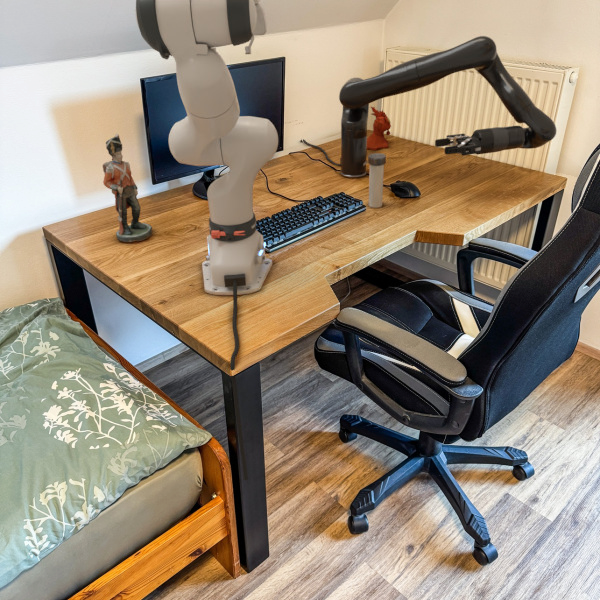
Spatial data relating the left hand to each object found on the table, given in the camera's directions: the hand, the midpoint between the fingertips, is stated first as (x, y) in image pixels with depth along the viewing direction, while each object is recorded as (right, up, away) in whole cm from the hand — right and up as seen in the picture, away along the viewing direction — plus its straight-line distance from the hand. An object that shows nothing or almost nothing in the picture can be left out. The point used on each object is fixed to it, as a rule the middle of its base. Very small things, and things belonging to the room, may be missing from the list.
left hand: (231, 54), depth 151 cm
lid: (+42, -22, +23) cm, 53 cm away
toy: (+49, -1, +85) cm, 98 cm away
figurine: (-31, -47, +18) cm, 59 cm away
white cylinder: (+43, -35, +31) cm, 64 cm away
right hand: (+62, -18, +24) cm, 69 cm away
